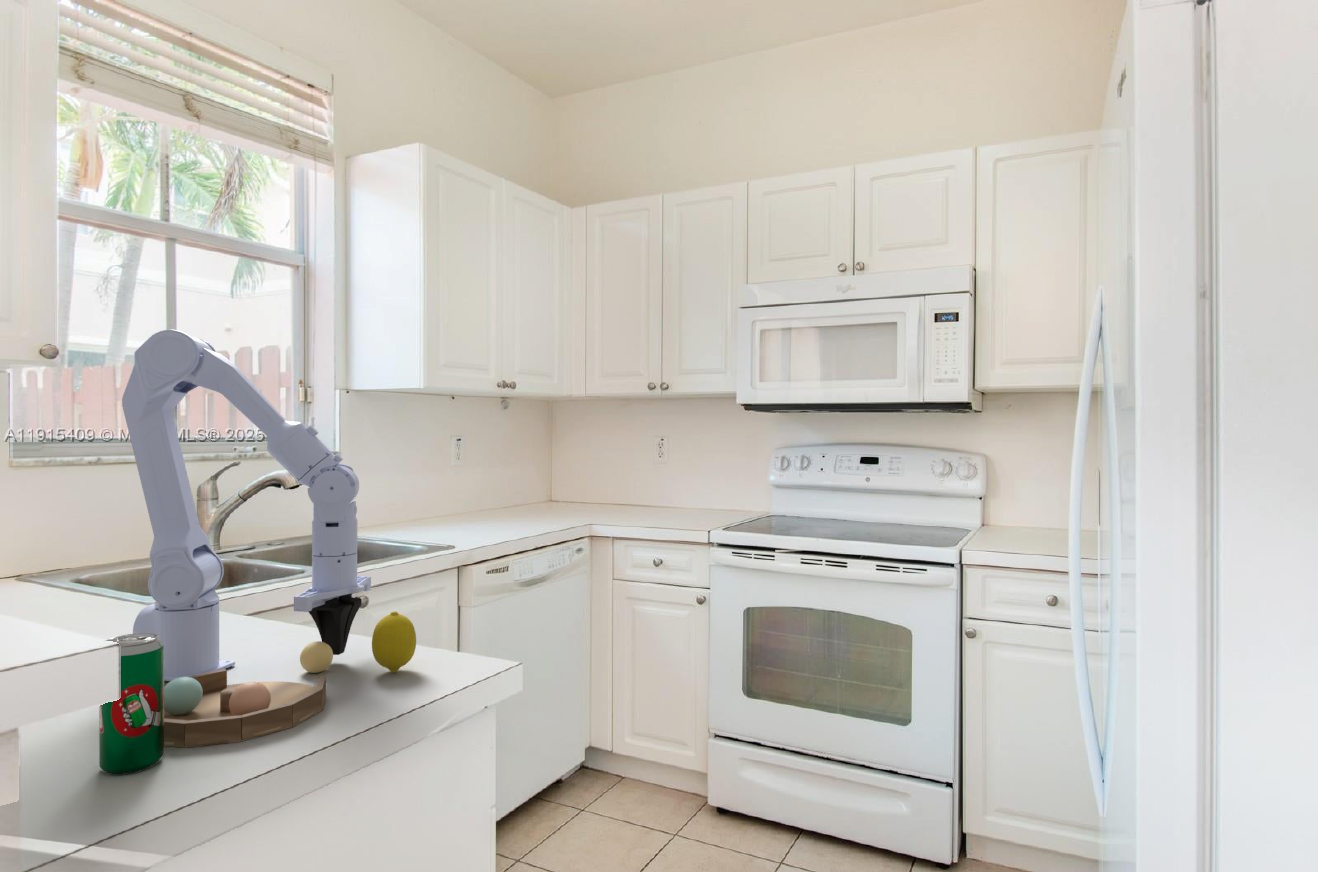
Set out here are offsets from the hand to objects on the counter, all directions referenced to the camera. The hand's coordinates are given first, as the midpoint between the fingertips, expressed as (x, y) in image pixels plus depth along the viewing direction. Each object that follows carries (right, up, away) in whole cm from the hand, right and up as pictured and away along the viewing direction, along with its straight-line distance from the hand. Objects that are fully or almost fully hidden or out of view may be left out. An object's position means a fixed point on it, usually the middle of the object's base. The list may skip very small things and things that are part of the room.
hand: (334, 653), depth 105 cm
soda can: (-5, -2, -33) cm, 33 cm away
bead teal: (-8, -1, -20) cm, 22 cm away
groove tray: (-4, -1, -19) cm, 19 cm away
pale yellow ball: (-1, -1, -4) cm, 4 cm away
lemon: (+9, -2, -4) cm, 10 cm away
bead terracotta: (0, -1, -22) cm, 22 cm away
